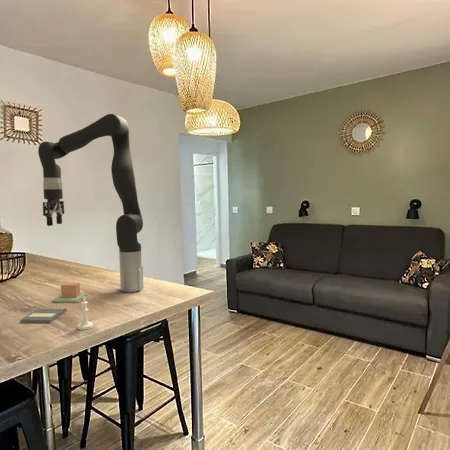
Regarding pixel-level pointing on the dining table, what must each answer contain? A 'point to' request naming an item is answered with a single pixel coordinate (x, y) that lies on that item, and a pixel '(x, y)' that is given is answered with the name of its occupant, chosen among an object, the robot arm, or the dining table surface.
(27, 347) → the dining table surface
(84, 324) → the chess piece
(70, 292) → the green plate orange block
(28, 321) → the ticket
